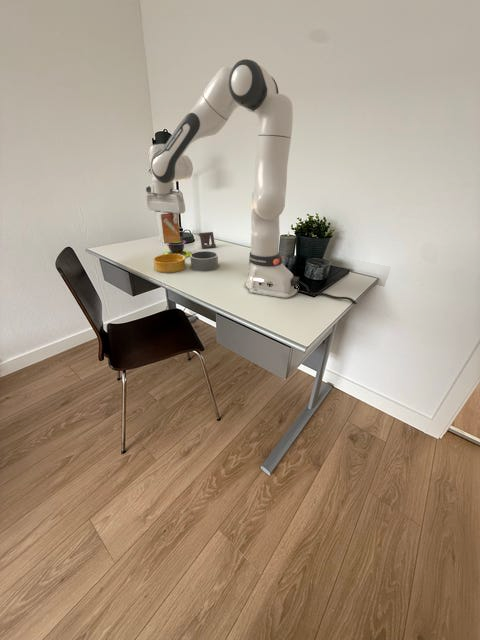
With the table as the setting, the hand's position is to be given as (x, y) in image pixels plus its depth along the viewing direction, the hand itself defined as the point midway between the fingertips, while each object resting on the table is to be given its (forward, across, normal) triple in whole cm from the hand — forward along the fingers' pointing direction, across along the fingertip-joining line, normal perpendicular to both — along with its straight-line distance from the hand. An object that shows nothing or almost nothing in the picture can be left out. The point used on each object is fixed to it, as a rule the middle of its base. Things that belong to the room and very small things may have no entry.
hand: (167, 222), depth 122 cm
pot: (+22, -12, -10) cm, 27 cm away
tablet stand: (+22, +10, -41) cm, 48 cm away
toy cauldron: (+22, +14, -18) cm, 32 cm away
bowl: (+22, +1, +1) cm, 22 cm away
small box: (+9, 0, 0) cm, 9 cm away
